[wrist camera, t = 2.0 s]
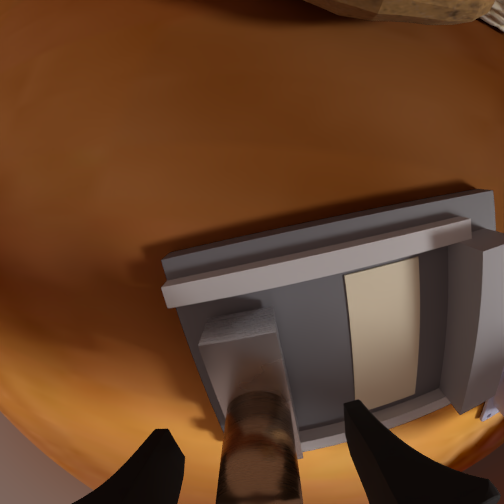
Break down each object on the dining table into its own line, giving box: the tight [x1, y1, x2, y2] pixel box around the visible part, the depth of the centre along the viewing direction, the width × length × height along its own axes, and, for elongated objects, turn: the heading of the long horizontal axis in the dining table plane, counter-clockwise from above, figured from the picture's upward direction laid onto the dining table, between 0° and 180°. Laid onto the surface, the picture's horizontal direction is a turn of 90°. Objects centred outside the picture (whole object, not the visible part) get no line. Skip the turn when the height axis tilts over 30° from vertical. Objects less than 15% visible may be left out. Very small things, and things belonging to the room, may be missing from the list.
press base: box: [161, 189, 504, 452], centre depth 14 cm, size 18×14×4 cm
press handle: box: [198, 306, 303, 504], centre depth 10 cm, size 3×8×8 cm, turn 13°
